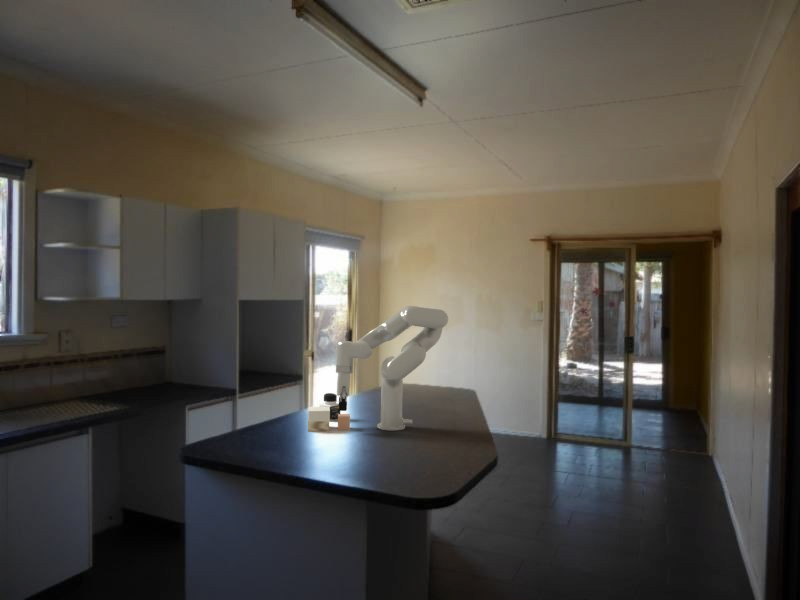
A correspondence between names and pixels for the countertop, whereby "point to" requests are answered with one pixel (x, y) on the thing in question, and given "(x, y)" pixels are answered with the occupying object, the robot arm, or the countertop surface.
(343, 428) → the terracotta block
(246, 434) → the countertop surface
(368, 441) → the countertop surface
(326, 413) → the cream block
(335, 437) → the countertop surface
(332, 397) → the medicine bottle
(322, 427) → the beech block
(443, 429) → the countertop surface
